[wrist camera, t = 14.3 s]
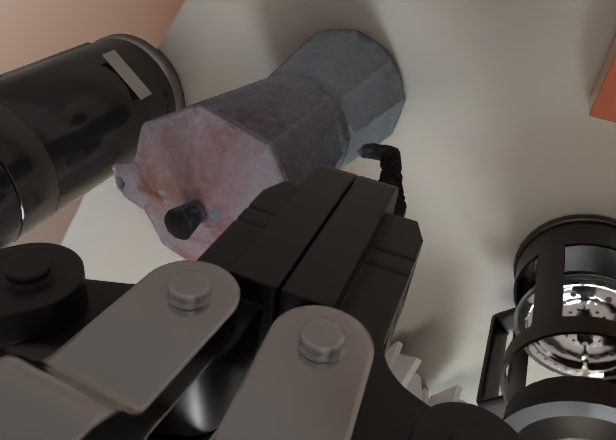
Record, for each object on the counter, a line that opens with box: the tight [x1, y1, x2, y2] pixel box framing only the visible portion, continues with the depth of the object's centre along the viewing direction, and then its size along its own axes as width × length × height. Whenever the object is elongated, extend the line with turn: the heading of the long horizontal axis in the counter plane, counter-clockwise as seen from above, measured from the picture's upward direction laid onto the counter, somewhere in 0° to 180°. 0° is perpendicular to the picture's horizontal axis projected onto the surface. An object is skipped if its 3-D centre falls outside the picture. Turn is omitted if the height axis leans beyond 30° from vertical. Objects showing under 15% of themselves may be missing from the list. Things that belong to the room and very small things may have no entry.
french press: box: [476, 215, 616, 440], centre depth 32 cm, size 12×9×23 cm
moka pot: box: [112, 30, 407, 261], centre depth 32 cm, size 10×15×20 cm, turn 97°
